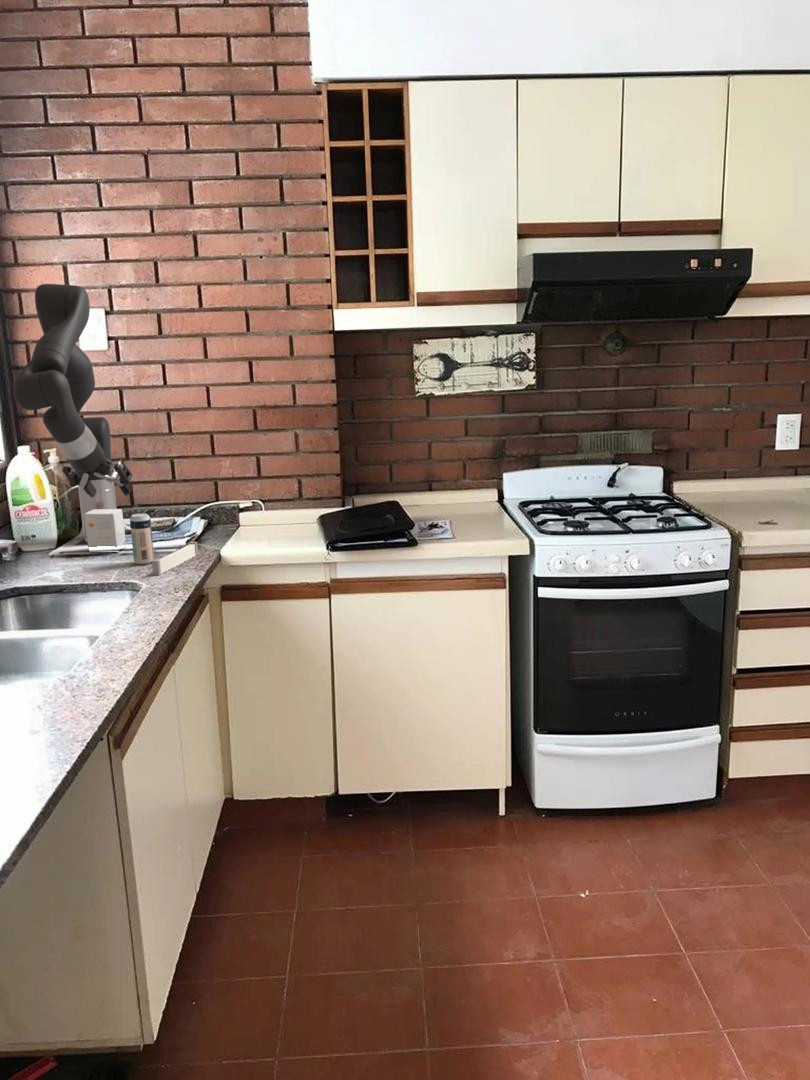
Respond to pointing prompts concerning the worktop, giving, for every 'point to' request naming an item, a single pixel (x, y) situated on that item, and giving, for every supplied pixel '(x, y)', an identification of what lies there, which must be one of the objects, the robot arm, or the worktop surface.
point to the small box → (104, 527)
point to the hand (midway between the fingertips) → (110, 493)
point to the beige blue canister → (142, 538)
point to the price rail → (174, 558)
